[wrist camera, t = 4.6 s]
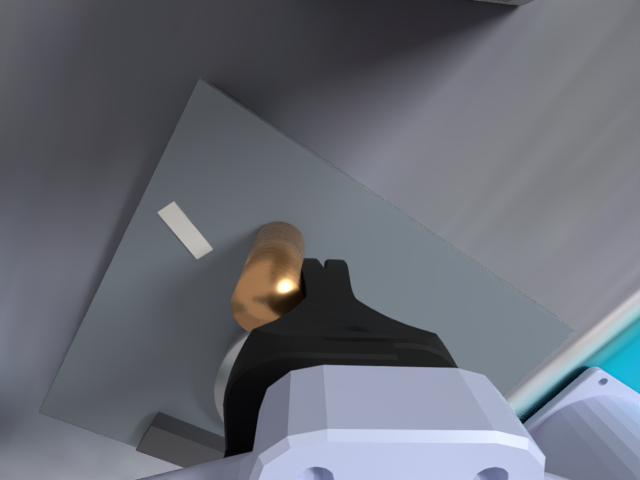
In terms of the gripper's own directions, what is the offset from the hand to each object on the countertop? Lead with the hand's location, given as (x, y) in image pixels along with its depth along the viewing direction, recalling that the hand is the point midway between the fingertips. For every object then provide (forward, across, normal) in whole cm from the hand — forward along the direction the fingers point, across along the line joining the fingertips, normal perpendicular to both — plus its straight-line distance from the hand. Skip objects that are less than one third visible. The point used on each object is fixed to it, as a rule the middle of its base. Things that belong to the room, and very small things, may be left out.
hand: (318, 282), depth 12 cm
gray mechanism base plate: (+3, 0, +6) cm, 7 cm away
